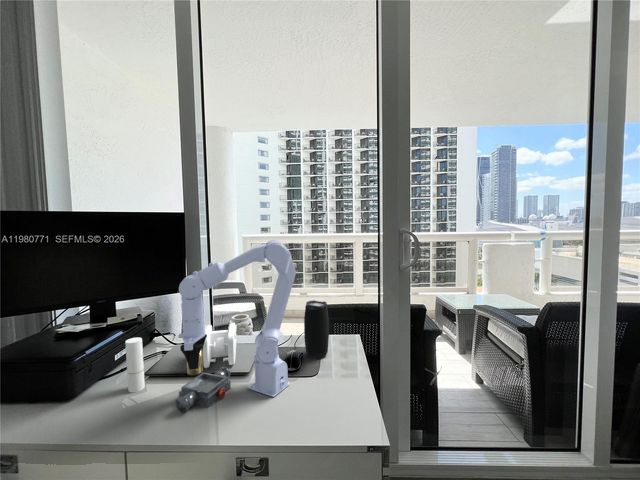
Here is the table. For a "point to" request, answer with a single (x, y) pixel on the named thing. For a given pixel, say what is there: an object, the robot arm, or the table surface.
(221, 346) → the cable organizer
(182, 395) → the valve body
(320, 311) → the portable speaker
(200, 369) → the brass cylinder
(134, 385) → the tube
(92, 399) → the table surface
